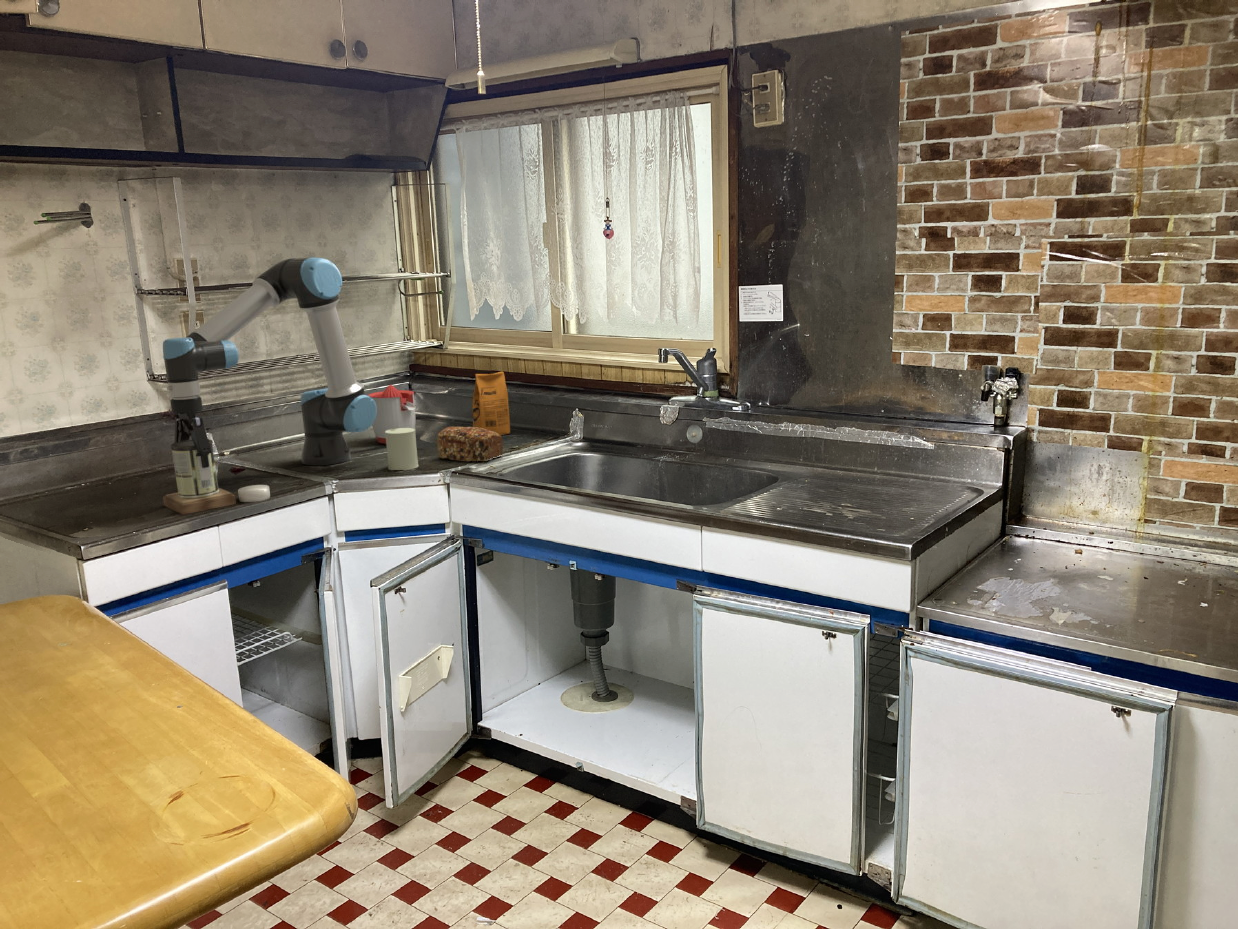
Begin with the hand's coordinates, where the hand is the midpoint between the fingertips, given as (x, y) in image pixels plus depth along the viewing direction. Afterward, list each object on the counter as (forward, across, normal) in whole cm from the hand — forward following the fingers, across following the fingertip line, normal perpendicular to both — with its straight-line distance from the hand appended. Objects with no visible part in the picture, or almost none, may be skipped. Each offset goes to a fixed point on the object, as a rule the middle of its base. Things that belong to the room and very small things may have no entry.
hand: (196, 475), depth 260 cm
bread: (+9, +10, +81) cm, 82 cm away
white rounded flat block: (+8, +5, +13) cm, 16 cm away
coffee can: (+5, 0, 0) cm, 5 cm away
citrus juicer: (+9, -34, +80) cm, 87 cm away
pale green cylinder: (+9, +4, +60) cm, 61 cm away
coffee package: (+9, -18, +109) cm, 111 cm away
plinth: (+8, 0, 0) cm, 8 cm away
